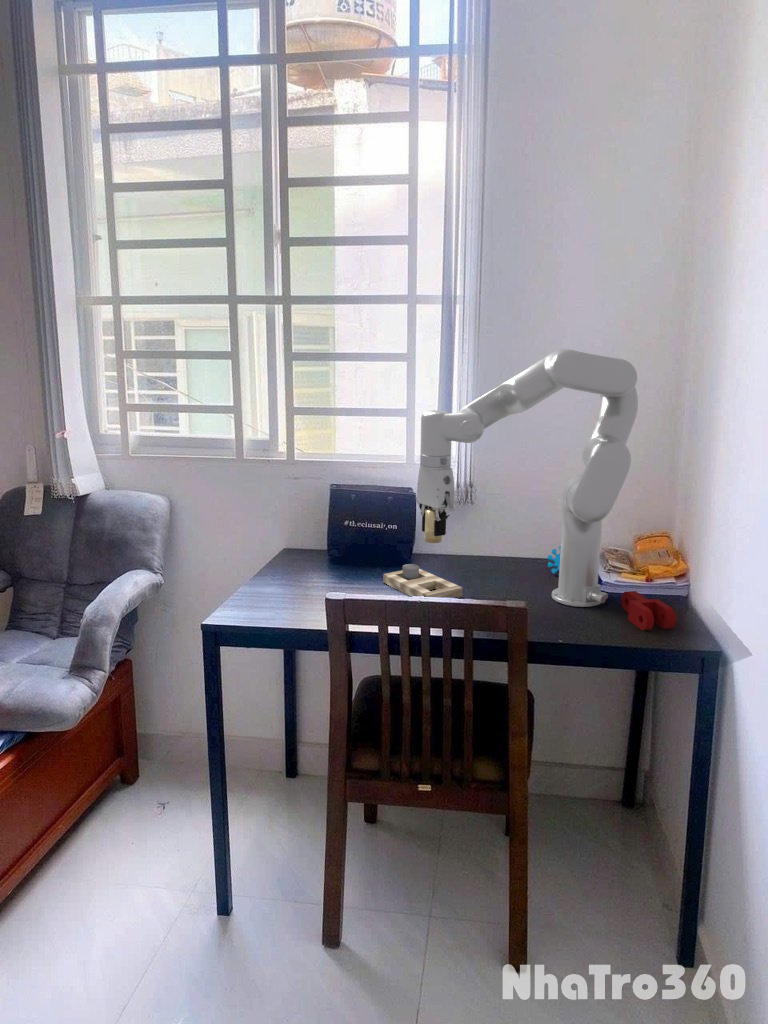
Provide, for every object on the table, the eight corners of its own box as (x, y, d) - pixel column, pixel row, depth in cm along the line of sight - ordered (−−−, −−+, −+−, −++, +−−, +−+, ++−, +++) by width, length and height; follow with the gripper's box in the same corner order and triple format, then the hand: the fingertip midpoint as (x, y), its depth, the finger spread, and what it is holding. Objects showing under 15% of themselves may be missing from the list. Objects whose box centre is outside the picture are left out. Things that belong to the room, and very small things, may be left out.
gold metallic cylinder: (445, 541, 184) (446, 510, 183) (431, 544, 182) (432, 512, 180) (435, 537, 188) (435, 507, 186) (421, 540, 186) (421, 509, 184)
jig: (462, 596, 187) (462, 578, 186) (427, 605, 181) (427, 585, 180) (416, 575, 204) (416, 558, 202) (383, 582, 198) (383, 565, 197)
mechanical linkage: (674, 631, 166) (676, 610, 165) (645, 633, 165) (647, 612, 164) (638, 607, 181) (640, 587, 180) (611, 608, 180) (613, 589, 179)
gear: (542, 570, 203) (553, 540, 208) (543, 579, 208) (553, 550, 213) (582, 581, 199) (592, 550, 204) (581, 590, 204) (591, 560, 208)
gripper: (469, 465, 176) (466, 538, 180) (427, 455, 189) (425, 524, 194) (444, 467, 172) (442, 543, 176) (403, 457, 185) (402, 527, 190)
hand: (433, 532), depth 185 cm, fingers closed on gold metallic cylinder, 4 cm apart
